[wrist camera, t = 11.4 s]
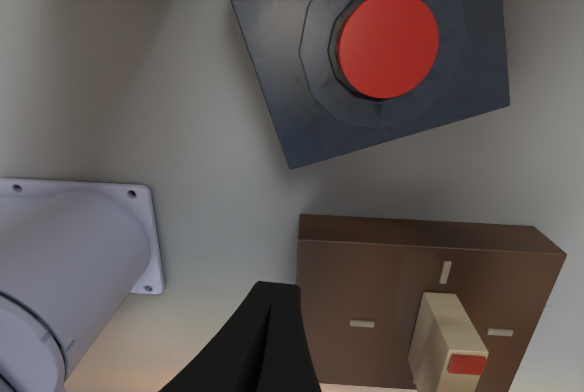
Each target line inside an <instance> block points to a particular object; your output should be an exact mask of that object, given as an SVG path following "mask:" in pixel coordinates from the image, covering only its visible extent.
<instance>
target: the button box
mask: <svg viewBox="0 0 584 392" xmlns="http://www.w3.org/2000/svg"><path fill="white" fill-rule="evenodd" d="M364 1H366V0H231V3H232V6H233V9H234V12H235V14H236V17H237V20H238V23H239V26H240V29H241V32H242V35H243V37H244V40H245V43H246V46H247V49H248V52H249V55H250V58H251V60H252V63H253V66H254V69H255V72H256V75H257V78H258V80H259V83H260V86H261V89H262V92H263V95H264V98H265V101H266V103H267V106H268V109H269V112H270V115H271V118H272V121H273V123H274V126H275V129H276V132H277V135H278V138H279V141H280V144H281V146H282V149H283V152H284V155H285V158H286V161H287V164H288V166H289V169H290V170H291V169H295V168H298V167H302V166H305V165H309V164H312V163H315V162H319V161H322V160H326V159H329V158H333V157H336V156H339V155H343V154H346V153H350V152H353V151H356V150H360V149H363V148H367V147H370V146H374V145H377V144H380V143H384V142H387V141H391V140H394V139H398V138H401V137H404V136H408V135H411V134H415V133H418V132H422V131H425V130H428V129H432V128H435V127H439V126H442V125H446V124H449V123H452V122H456V121H459V120H463V119H466V118H469V117H473V116H476V115H480V114H483V113H487V112H490V111H493V110H497V109H500V108H504V107H507V106H509V105H510V96H509V83H508V69H507V56H506V43H505V30H504V16H503V3H502V0H421V1H422V2H423V3H424V4H425V5H426V6H427V7H428V8H429V9H430V11H431V12H432V14H433V16H434V18H435V21H436V23H437V27H438V34H439V45H438V51H437V55H436V58H435V61H434V63H433V66H432V67H431V69H430V71H429V73H428V74H427V75H426V77H425V78H424V79H423V80H422V81H421V82H420V83H419V84H418V85H417V86H416V87H415V88H413V89H412V90H410V91H408V92H407V93H405V94H402V95H400V96H397V97H393V98H374V97H370V96H367V95H365V94H363V93H361V92H360V91H358V90H357V89H355V88H354V87H353V86H352V85H351V84H350V82H349V81H348V80H347V79H346V78H345V77H344V75H343V74H342V72H341V70H340V68H339V65H338V62H337V57H336V43H337V37H338V34H339V31H340V29H341V26H342V24H343V23H344V21H345V19H346V18H347V17H348V15H349V14H350V13H351V12H352V11H353V10H354V9H355V8H356V7H358V6H359V5H360V4H362V3H363V2H364Z"/></svg>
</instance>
